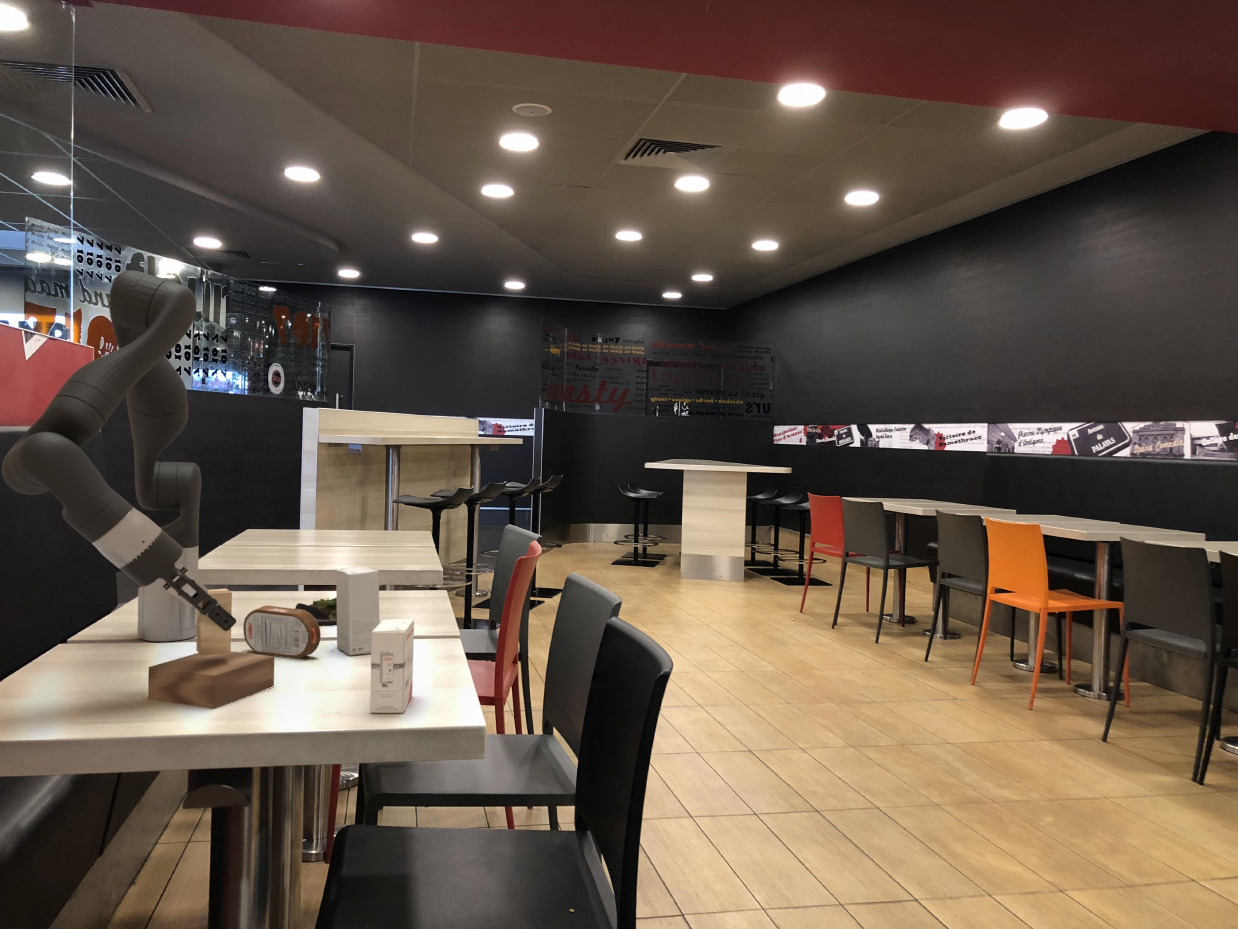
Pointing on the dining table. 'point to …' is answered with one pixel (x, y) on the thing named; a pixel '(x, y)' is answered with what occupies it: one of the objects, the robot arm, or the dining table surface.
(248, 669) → the walnut slab
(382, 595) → the dining table surface
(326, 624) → the salad plate
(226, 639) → the oak post
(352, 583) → the skincare box
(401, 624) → the ink box
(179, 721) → the dining table surface
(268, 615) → the tin
